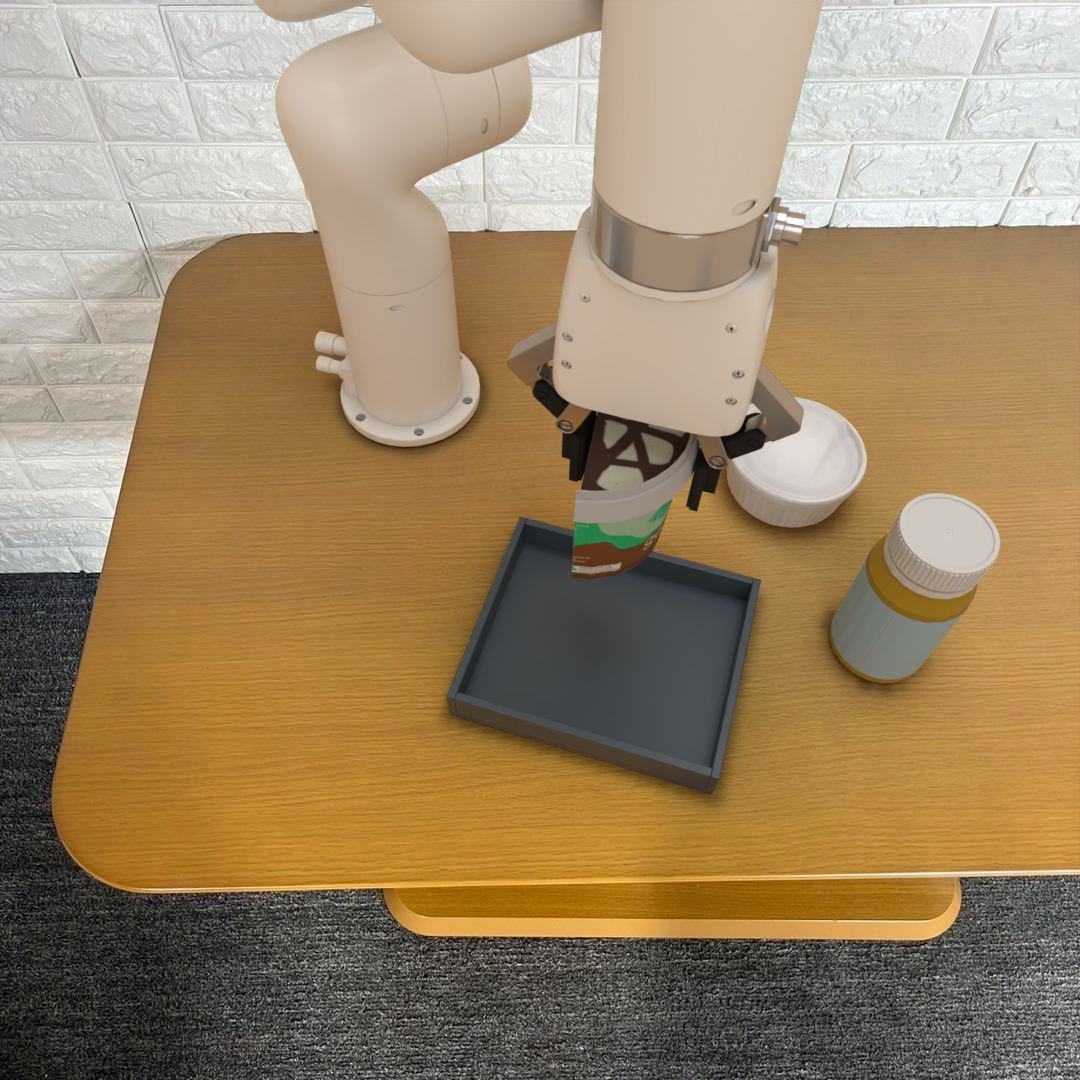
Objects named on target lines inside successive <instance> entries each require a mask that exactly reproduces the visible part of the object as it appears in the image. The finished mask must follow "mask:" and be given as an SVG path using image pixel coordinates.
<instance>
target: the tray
mask: <svg viewBox="0 0 1080 1080" xmlns="http://www.w3.org/2000/svg"><path fill="white" fill-rule="evenodd" d="M514 527H515V528H514V530H513V532H512V535H511V536H510V539H509V542H508V544H507V546H506V550H505V552H504V554H503V557H502V559H501V561H500V564H499V567H498V569H497V571H496V574H495V576H494V579H493V581H492V584H491V586H490V588H489V590H488V592H487V593H488V594H487V596H486V599H485V600H484V602H483V606H482V608H481V610H480V612H479V616H478V617H477V620H476V623H475V625H474V628H473V630H472V633H471V636H470V638H469V640H468V642H467V645H466V648H465V650H464V652H463V655H462V657H461V659H460V662H459V665H458V666H457V670H456V672H455V675H454V677H453V680H452V682H451V685H450V687H449V689H448V691H447V694H446V701H447V706H448V711H449V715H450V716H453V717H457V718H459V719H460V718H461V719H463V720H467V721H470V722H473V723H475V724H476V723H477V724H480V725H484V726H486V727H489V728H493V729H496V730H500V731H503V732H506V733H508V734H512V735H517V736H519V737H523V738H526V739H530V740H532V741H536V742H539V743H542V744H546V745H549V746H552V747H555V748H559V749H562V750H565V751H569V752H572V753H575V754H579V755H582V756H585V757H589V758H591V759H595V760H598V761H602V762H605V763H607V764H611V765H615V766H618V767H621V768H625V769H628V770H631V771H634V772H637V773H640V774H644V775H647V776H650V777H654V778H657V779H661V780H664V781H667V782H670V783H672V784H677V785H680V786H684V787H687V788H690V789H693V790H697V791H700V792H703V793H707V794H710V795H713V793H714V791H715V790H716V787H717V785H718V783H719V781H720V779H721V776H722V775H721V774H722V769H723V764H724V760H725V756H726V750H727V746H728V741H729V736H730V731H731V727H732V722H733V717H734V712H735V708H736V703H737V698H738V694H739V688H740V684H741V678H742V674H743V670H744V665H745V659H746V656H747V650H748V647H749V646H748V645H749V641H750V636H751V632H752V626H753V622H754V617H755V614H756V613H755V611H756V609H757V602H758V599H759V594H760V588H761V583H762V579H760V578H757V577H753V576H749V575H745V574H741V573H738V572H734V571H729V570H726V569H722V568H720V567H719V568H718V567H715V566H711V565H707V564H703V563H699V562H697V561H696V562H695V561H691V560H688V559H685V558H681V557H677V556H673V555H668V554H665V553H661V552H658V551H654V550H652V552H651V553H650V554H649V555H648V556H647V557H646V558H645V559H644V560H643V561H641V562H640V563H639V564H638V565H637V566H636V567H634V568H632V569H629V570H627V571H625V572H623V573H620V574H618V575H616V576H612V577H605V578H597V579H580V578H571V576H572V558H573V541H574V529H570V528H566V527H562V526H558V525H555V524H551V523H547V522H543V521H540V520H536V519H532V518H527V517H524V516H519V518H518V519H517V522H516V525H515V526H514Z"/></svg>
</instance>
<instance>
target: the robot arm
mask: <svg viewBox="0 0 1080 1080" xmlns="http://www.w3.org/2000/svg"><path fill="white" fill-rule="evenodd" d="M253 2H254V4H255V5H256V6H257V7H258V8H259V9H260V10H261V11H262V13H264V14H265V15H267V16H268V17H269V18H271V19H273V20H275V21H278V22H282V23H303V22H307V21H312V20H317V19H320V18H325V17H329V16H332V15H335V14H338V13H341V12H345V11H348V10H351V9H354V8H358V7H361V6H364V5H367V4H368V5H369V7H370V8H371V9H372V11H373V12H374V14H375V15H376V16H377V18H378V19H379V21H380V22H379V23H375V24H373V25H370V26H366V27H364V28H361V29H357V30H355V31H352V32H348V33H345V34H343V35H340V36H337V37H334V38H331V39H329V40H327V41H324V42H322V43H319V44H318V45H315V46H314V47H313V46H312V48H310V49H308V50H306V51H305V52H303V53H301V54H300V55H299V56H297V57H296V58H295V59H294V60H293V61H292V62H290V63H289V65H288V66H287V67H286V68H285V70H284V71H283V72H282V74H281V76H280V78H279V79H278V82H277V85H276V89H275V94H274V95H275V96H274V105H275V113H276V117H277V121H278V125H279V128H280V132H281V134H282V137H283V140H284V142H285V144H286V147H287V149H288V152H289V154H290V156H291V158H292V161H293V163H294V166H295V168H296V170H297V172H298V175H299V178H300V180H301V182H302V185H303V187H304V189H305V192H306V196H307V198H308V200H309V204H310V207H311V209H312V213H313V216H314V219H315V223H316V226H317V229H318V233H319V237H320V241H321V244H322V248H323V253H324V257H325V261H326V265H327V269H328V274H329V277H330V282H331V287H332V291H333V295H334V300H335V304H336V309H337V312H338V317H339V320H340V321H339V322H340V325H341V330H342V334H343V336H341V335H340V334H336V333H332V332H327V331H324V330H320V331H318V332H317V333H316V335H315V337H314V343H313V345H314V349H315V351H316V352H319V353H323V354H327V355H330V356H334V357H336V356H339V357H342V358H344V359H342V360H338V359H335V358H333V357H329V356H325V355H319V356H318V357H317V358H316V361H315V369H316V370H317V371H319V372H323V373H327V374H334V375H338V376H339V378H340V379H341V380H342V382H341V383H340V391H339V395H340V403H341V406H342V411H343V413H344V416H345V417H346V419H347V421H348V423H349V424H350V425H351V426H352V427H353V428H354V429H355V431H357V432H358V433H360V434H361V435H363V436H364V437H365V438H367V439H370V440H371V441H375V442H376V443H379V444H383V445H387V446H392V447H400V448H401V447H403V448H404V447H405V448H406V447H408V448H409V447H419V446H425V445H430V444H434V443H436V442H439V441H442V440H445V439H446V438H448V437H450V436H452V435H454V434H456V433H457V432H458V431H460V429H462V428H463V427H464V426H466V425H467V423H469V421H470V420H471V419H472V418H473V416H474V414H475V412H476V411H477V409H478V407H479V404H480V399H481V383H480V376H479V374H478V371H477V368H476V366H475V365H474V363H473V362H472V361H471V359H470V358H469V357H467V356H466V355H465V354H464V353H463V352H462V351H461V350H460V349H461V348H460V339H459V338H460V337H459V327H458V326H459V325H458V316H457V306H456V305H457V304H456V296H455V295H456V294H455V284H454V272H453V271H454V270H453V262H452V251H451V244H450V235H449V230H448V225H447V222H446V221H445V218H444V215H443V214H442V212H441V211H440V209H439V207H438V206H437V205H436V203H434V201H433V200H432V199H430V197H429V196H428V195H426V194H425V193H424V192H423V191H422V190H420V189H419V188H417V186H415V185H416V184H417V183H418V182H419V181H421V180H422V179H424V178H426V177H429V176H431V175H433V174H435V173H438V172H440V170H442V169H445V168H447V167H449V166H452V165H454V164H457V163H459V162H462V161H464V160H468V159H469V158H471V157H474V156H476V155H479V154H481V153H484V152H487V151H488V150H491V149H494V148H495V147H498V146H500V145H502V144H504V143H506V142H508V141H510V140H511V139H513V138H514V137H516V136H517V135H518V134H519V133H520V132H521V131H522V130H523V129H524V127H525V126H526V124H527V123H528V120H529V119H530V115H531V112H532V108H533V100H534V99H533V98H534V97H533V96H534V95H533V93H534V91H533V79H532V72H531V68H530V67H531V66H530V63H529V59H528V56H529V55H532V54H535V53H537V52H540V51H543V50H545V49H548V48H551V47H554V46H557V45H559V44H562V43H564V42H567V41H570V40H573V39H576V38H578V37H580V36H584V35H586V34H588V33H597V32H601V33H600V52H599V53H600V54H599V69H598V70H599V71H598V88H597V89H598V90H597V103H596V104H597V106H596V117H595V118H596V119H595V133H594V134H595V135H594V147H593V148H594V149H593V151H594V153H593V166H592V167H593V168H592V169H593V170H592V180H591V181H592V184H591V197H590V199H591V201H590V205H589V206H588V207H586V209H585V210H584V211H583V212H582V214H581V217H580V219H579V222H578V225H577V227H576V231H575V234H574V237H573V242H572V246H571V249H570V252H569V256H568V259H567V260H568V261H567V265H566V269H565V273H564V279H563V284H562V285H563V286H562V289H561V296H560V303H559V309H558V315H557V321H556V322H554V323H552V324H550V325H548V326H546V327H545V328H543V329H541V330H538V331H537V332H535V333H533V334H531V335H530V336H528V337H525V338H524V339H522V340H520V341H518V342H517V343H515V344H514V345H513V347H512V349H511V351H510V352H509V355H508V357H507V359H506V366H507V367H508V368H509V369H510V371H511V372H512V373H513V374H514V375H516V377H518V379H519V380H521V382H522V383H524V385H525V386H526V387H528V386H529V387H530V388H531V389H532V390H531V393H532V396H533V397H534V399H536V400H537V401H538V402H539V403H540V404H541V406H543V407H544V408H545V409H546V410H547V411H548V412H549V413H550V414H551V415H552V416H553V417H554V418H555V419H556V420H555V421H554V422H555V423H554V425H555V428H556V429H557V431H559V432H561V433H562V437H561V439H562V440H561V458H564V459H567V460H569V465H568V481H571V482H574V483H579V482H580V481H583V476H584V472H585V467H586V462H587V458H588V453H589V449H590V445H591V440H592V435H593V431H594V426H595V421H596V416H597V412H602V413H606V414H610V415H614V416H618V417H622V418H626V419H631V420H635V421H639V422H643V423H648V424H652V425H657V426H661V427H665V428H670V429H674V430H679V431H684V432H688V433H693V434H696V436H697V438H698V441H699V444H700V451H699V454H698V458H697V462H696V465H695V469H694V472H693V474H692V477H691V482H690V487H689V491H688V496H687V500H686V503H685V507H686V508H688V511H692V512H698V511H699V507H700V502H701V499H702V496H703V492H704V493H708V494H712V495H715V494H716V491H717V488H718V483H719V479H720V476H721V472H722V470H724V469H727V466H728V464H729V461H730V460H731V459H734V458H737V457H740V456H743V455H746V454H748V453H751V452H754V451H757V450H760V449H762V448H763V447H764V444H765V443H767V442H769V441H771V442H774V441H777V440H779V439H782V438H785V437H787V436H790V435H793V434H795V433H797V432H799V431H800V429H801V425H802V419H803V414H804V409H803V407H802V406H801V405H800V404H799V403H798V401H797V400H796V399H795V398H794V397H795V396H793V394H792V393H791V392H790V391H789V390H788V388H786V386H785V385H784V384H783V383H782V382H781V381H780V380H779V378H778V377H777V376H776V375H775V374H774V373H773V372H772V371H771V369H770V368H769V367H768V366H767V365H766V364H765V362H763V359H764V354H765V351H766V350H765V348H766V344H767V341H768V334H769V330H770V326H771V320H772V317H773V312H774V307H775V306H774V305H775V299H776V292H777V281H778V269H779V268H778V267H779V263H778V262H779V253H778V250H779V249H778V248H779V247H780V245H784V246H789V247H794V248H798V247H799V243H800V240H801V238H802V237H801V236H802V234H803V229H804V226H805V221H806V218H807V213H802V212H797V211H791V210H790V207H789V206H783V205H781V201H782V197H778V196H776V193H777V189H778V185H779V181H780V177H781V174H782V169H783V165H784V162H785V157H786V153H787V149H788V145H789V140H790V138H791V133H792V129H793V125H794V121H795V117H796V114H797V109H798V105H799V101H800V98H801V92H802V89H803V85H804V81H805V77H806V73H807V69H808V65H809V62H810V57H811V54H812V53H811V52H812V51H813V44H814V41H815V37H816V33H817V31H818V30H817V29H818V25H819V21H820V18H821V14H822V9H823V5H824V0H253ZM551 361H552V365H550V362H551ZM752 403H753V404H754V405H755V406H756V407H757V408H758V409H759V410H760V411H761V413H751V414H749V415H746V414H747V411H748V409H749V406H750V404H752Z"/></svg>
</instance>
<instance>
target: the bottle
mask: <svg viewBox="0 0 1080 1080" xmlns="http://www.w3.org/2000/svg"><path fill="white" fill-rule="evenodd" d="M1000 548H1001V539H1000V533H999V531H998V527H997V526H996V525H995V523H994V521H993V520H992V518H990V516H989V515H988V514H987V513H986V512H985V511H984V510H983V509H982V508H980V507H979V506H977V505H976V504H975V503H973V502H971V501H969V500H967V499H965V498H963V497H961V496H957V495H954V494H950V493H942V492H933V493H925V494H923V495H918V496H916V497H915V498H913V499H912V500H910V501H909V502H907V503H906V504H905V505H904V506H903V508H902V509H901V511H900V512H899V514H898V516H897V517H896V519H895V521H894V522H893V524H892V526H891V528H890V531H889V532H888V533H886V534H884V535H883V536H882V537H881V538H880V539H878V540H877V541H876V542H875V544H873V546H872V548H871V550H870V551H869V553H868V555H867V556H866V558H865V560H864V562H863V563H862V566H861V567H860V569H859V571H858V573H857V574H856V576H855V577H854V579H853V581H852V583H851V584H850V587H849V589H848V590H847V592H846V594H845V596H844V598H843V599H842V601H841V603H840V604H839V606H838V608H837V610H836V612H835V614H834V616H833V618H832V620H831V623H830V625H829V641H830V645H831V648H832V650H833V652H834V654H835V656H836V657H837V659H838V660H839V662H840V663H841V664H842V665H844V667H846V668H847V669H848V670H849V671H850V672H851V673H853V674H855V675H857V676H858V677H860V678H861V679H862V678H863V679H864V680H867V681H869V682H874V683H879V684H894V683H899V682H902V681H905V680H907V679H909V678H910V677H912V676H913V675H914V674H915V673H916V672H918V670H919V669H920V668H921V667H922V666H923V664H924V663H925V662H926V661H927V659H928V658H929V657H930V656H931V654H932V653H934V651H935V650H936V649H937V647H938V646H939V645H940V643H941V642H942V641H943V639H944V638H946V636H947V635H948V633H949V632H950V631H951V630H952V628H953V627H954V626H955V625H956V623H957V622H958V621H959V619H960V618H962V616H963V614H964V613H965V612H966V611H967V610H968V608H969V607H970V605H971V604H972V602H973V601H974V598H975V596H976V594H977V589H978V582H980V581H981V580H982V579H983V577H984V576H985V575H986V574H987V572H988V571H989V570H990V568H991V567H992V565H994V563H995V562H996V560H997V558H998V557H999V552H1000Z"/></svg>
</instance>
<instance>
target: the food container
mask: <svg viewBox="0 0 1080 1080" xmlns="http://www.w3.org/2000/svg"><path fill="white" fill-rule="evenodd" d="M700 447H701V446H700V444H699V441H698V438H697V436H696V434H693V433H688V432H684V431H679V430H674V429H670V428H665V427H661V426H657V425H652V424H648V423H643V422H639V421H635V420H631V419H626V418H622V417H618V416H614V415H610V414H606V413H602V412H598V411H597V415H596V421H595V426H594V431H593V435H592V440H591V445H590V449H589V453H588V458H587V462H586V467H585V472H584V475H583V478H582V480H581V481H582V482H581V486H580V489H576V492H575V502H574V510H573V518H572V522H573V523H574V525H573V530H574V541H573V558H572V576H571V578H580V579H597V578H605V577H612V576H616V575H618V574H620V573H623V572H625V571H627V570H629V569H632V568H634V567H636V566H637V565H638V564H639V563H640V562H641V561H643V560H644V559H645V558H646V557H647V556H648V555H649V554H650V553H651V552H652V551H654V548H655V547H656V545H657V543H658V541H659V540H660V537H661V534H662V531H663V527H664V525H665V522H666V520H667V516H668V513H669V511H670V507H671V505H672V502H673V499H674V498H675V497H676V496H677V495H678V494H679V493H680V492H681V491H682V490H683V489H684V488H685V487H686V485H687V483H688V482H689V481H690V480H691V479H692V477H693V473H694V469H695V465H696V462H697V458H698V454H699V451H700Z"/></svg>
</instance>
